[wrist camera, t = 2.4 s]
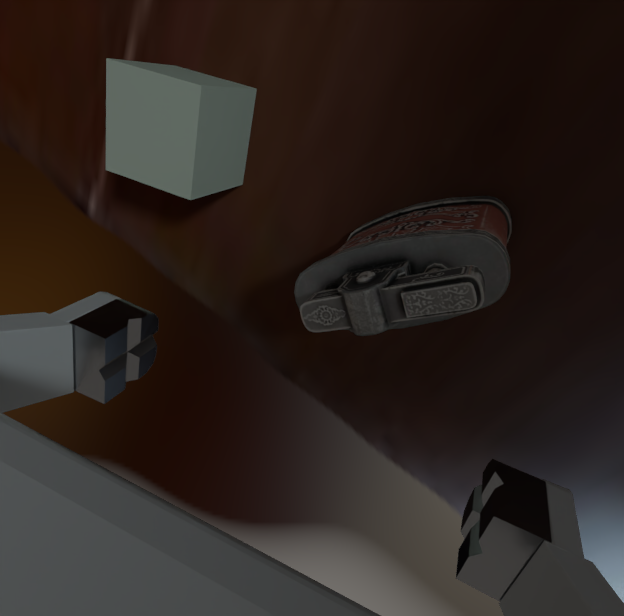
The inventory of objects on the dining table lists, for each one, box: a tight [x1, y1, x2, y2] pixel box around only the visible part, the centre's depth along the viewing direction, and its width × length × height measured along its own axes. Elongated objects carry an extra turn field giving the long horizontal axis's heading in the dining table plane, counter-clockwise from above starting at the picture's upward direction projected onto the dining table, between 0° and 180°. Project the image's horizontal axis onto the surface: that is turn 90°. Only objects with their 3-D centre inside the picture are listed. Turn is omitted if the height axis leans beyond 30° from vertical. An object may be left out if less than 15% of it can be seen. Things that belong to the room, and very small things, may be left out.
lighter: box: [294, 196, 512, 336], centre depth 19 cm, size 8×3×10 cm, turn 109°
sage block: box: [106, 58, 257, 200], centre depth 23 cm, size 5×5×5 cm
